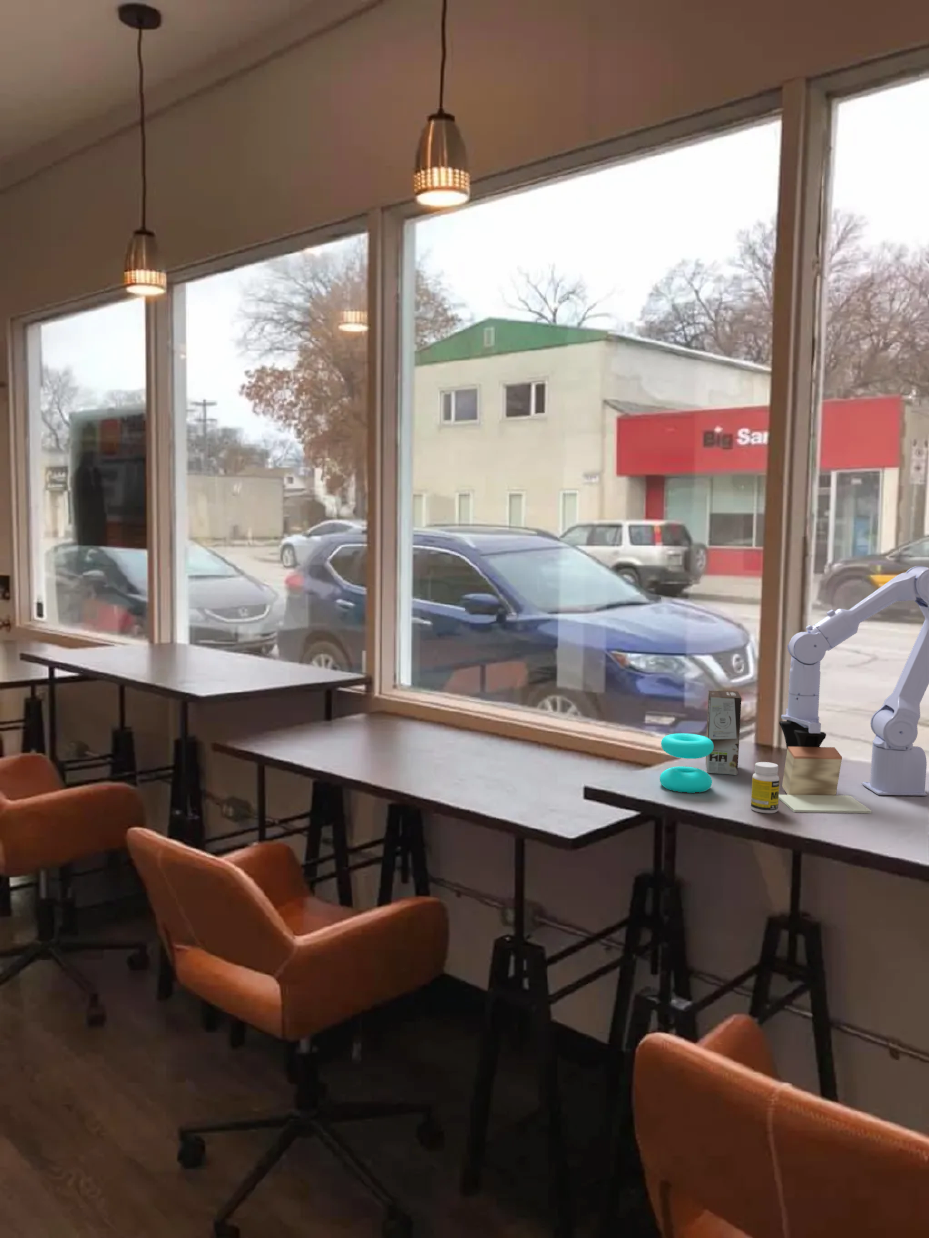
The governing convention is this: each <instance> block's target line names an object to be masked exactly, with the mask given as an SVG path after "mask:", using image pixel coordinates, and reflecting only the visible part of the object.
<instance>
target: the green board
mask: <svg viewBox="0 0 929 1238" xmlns="http://www.w3.org/2000/svg"><path fill="white" fill-rule="evenodd" d="M778 800H779V801H780V802H782V803H783V804H784V805H785V806H786V807H788V808H789V809H790V810H791V811H792V812H793V813H830V814H831V813H834V814H835V813H836V814H837V813H838V814H839V813H840V814H843V813H845V814H872V811H873V810H871V809H870V808H869V807H867V806H866V805H864V804H862V803H861V802H860V801H858V800H857V799H855V798H854V797H853V796H851V795H843V794H842V795H837V794H836V795H787V794H779V799H778Z"/></svg>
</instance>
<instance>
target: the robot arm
mask: <svg viewBox="0 0 929 1238" xmlns="http://www.w3.org/2000/svg"><path fill="white" fill-rule="evenodd" d="M907 601H908V602H912V601H914V602H915V603H916V604H917V605H918V607H919V610H920V611H921V614H922V615H923V617H924V621H923V624H922V626H921V628H920V630H919V633H918V635H917V636H916V639H915V641H914V644H913V645H912V648H911V651H910V653H909V654H908V655H909V656H908V658H907V659H906V662H905V664H904V666H903V668H902V671H901V673H900V676H899V678H898V680H897V682H896V685H895V687H894V689H893V691H892V693H891V694H890V695H889V696H888V697H887V698H885V699H884V702H883V703H882V705H881V707H880V708H879V709H877V711H875V712H874V713H873V714H872V716H871V718H870V728H871V730H872V732H873V733H874V735H875V737H874V738H873V740H872V746H871V747H872V749H871V763H870V780H869V781H862V783H861V785H863V786H864V787H865V788H867V789H868V790H870V791H872V792H873V793H875V794H876V795H879V796H921V797H923V796H927V792H926V780H927V779H926V778H927V765H928V764H927V763H928V762H927V756H926V753H925V750H924V749H923V748H922V747H921V746H919V745H918V746H914V743H915V742H916V741H917V737H918V723H919V721H920V718H921V707H920V706H921V701H922V700H923V698H924V696H925V694H926V690H927V688H928V686H929V567H927V566H924V565H915V566H913V567H910V568H909V569H908V570H907V571H906V572H902V573H899V574H897V575H896V576H894V577H893V578H891V579H890V580H889V581H887V582H886V583H885V584H883V585H882V586H880V587H879V588H877V589H876V590H875V591H874V592H872V593H870V594H869V595H867V596H866V597H865V598H863V599H862V600H861V601H859V602H857V603H856V604H855V605H853V606H852V607H851V608H849V609H845V608H837V609H836V610H834V609H830V610H828V611H827V612H826V616H825V617H823V618H822V619H820V620H819V621H818V622H816V623H815V624H813V625H811V624H809V625H807V626H806V627H805V629H806V631H800V632H797V633H795V634H794V635H792V637H791V638H790V641H789V642H788V644H787V651H788V653H789V655H790V663H789V665H790V669H789V674H788V675H789V679H788V694H787V695H788V697H787V700H788V701H787V708H785V714H781V716H780V717H781V719H782V720H780V721H779V723H778V724H779V726H780V729H781V731H782V733H783V737H784V740H785V745H786V746H785V747H786V749H787V748H788V747H821V745H822V743H823V742H824V740H825V739H826V738H827V733H825V732H824V731H821V727H822V723H820V716H819V706H820V704H819V703H820V689H821V688H820V687H821V686H820V685H821V661H822V660H824V657H825V656H826V652H827V651H830V650H831V651H832V649H834V648H836V647H838V646H839V645H840V644H841V643H843V642H845V641H846V640H848V639H850V638H851V637H852V636H854V635H856V634H857V633H858V629H859V626H860V623H862V622H864V621H866V620H868V619H869V618H871V617H873V616H875V615H876V614H878V613H879V612H881V611H882V610H885V609H886V608H889V607H890V606H891V605H894V603H897V602H907Z"/></svg>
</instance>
